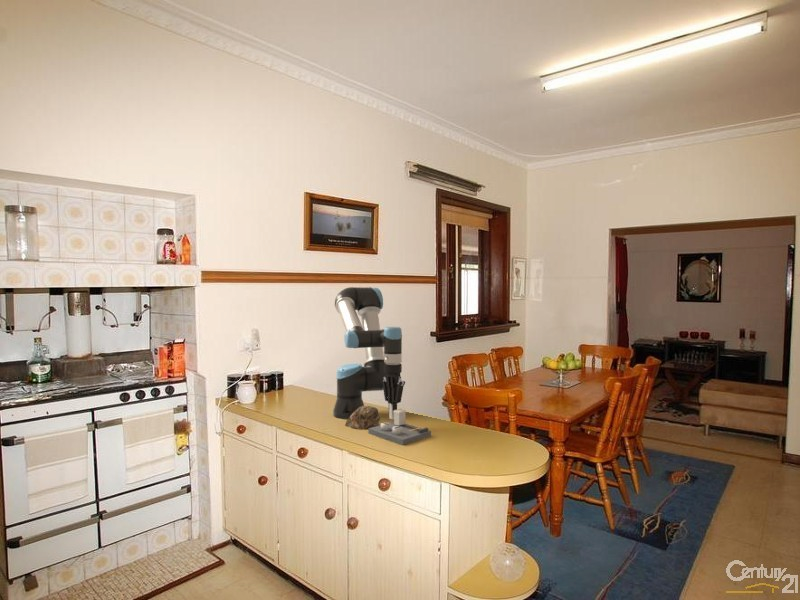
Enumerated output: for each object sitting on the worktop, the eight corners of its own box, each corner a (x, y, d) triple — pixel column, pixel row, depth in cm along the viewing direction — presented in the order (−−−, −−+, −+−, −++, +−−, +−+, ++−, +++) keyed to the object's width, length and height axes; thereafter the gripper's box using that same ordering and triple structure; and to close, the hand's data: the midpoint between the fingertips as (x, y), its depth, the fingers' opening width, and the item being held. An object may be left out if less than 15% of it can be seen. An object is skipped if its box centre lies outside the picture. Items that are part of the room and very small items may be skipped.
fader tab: (393, 424, 200) (393, 410, 200) (400, 422, 203) (400, 408, 203) (399, 425, 198) (399, 411, 197) (405, 423, 200) (406, 410, 200)
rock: (356, 423, 213) (341, 428, 205) (355, 403, 214) (340, 408, 205) (382, 425, 205) (367, 431, 197) (380, 405, 205) (366, 410, 197)
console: (368, 433, 195) (368, 422, 195) (397, 425, 206) (397, 415, 206) (402, 445, 180) (402, 433, 180) (431, 435, 192) (431, 424, 192)
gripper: (376, 362, 205) (376, 417, 205) (396, 366, 195) (396, 423, 196) (389, 360, 210) (388, 414, 210) (409, 364, 200) (409, 419, 201)
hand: (392, 418), depth 203 cm, fingers closed
